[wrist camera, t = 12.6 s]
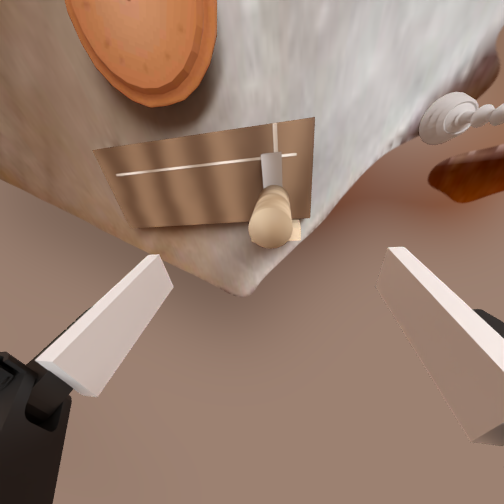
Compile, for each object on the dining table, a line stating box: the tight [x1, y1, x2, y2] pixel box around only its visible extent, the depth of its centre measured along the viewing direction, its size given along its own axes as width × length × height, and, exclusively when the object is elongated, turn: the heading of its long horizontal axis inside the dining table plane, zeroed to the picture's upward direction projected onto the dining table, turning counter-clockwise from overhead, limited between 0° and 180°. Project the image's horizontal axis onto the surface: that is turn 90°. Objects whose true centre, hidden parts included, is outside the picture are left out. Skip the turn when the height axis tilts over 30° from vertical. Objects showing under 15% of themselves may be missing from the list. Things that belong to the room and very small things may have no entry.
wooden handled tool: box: [248, 152, 301, 249], centre depth 23 cm, size 7×11×14 cm, turn 6°
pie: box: [65, 0, 217, 108], centre depth 19 cm, size 16×16×5 cm
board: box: [92, 117, 315, 228], centre depth 28 cm, size 30×12×3 cm, turn 97°
